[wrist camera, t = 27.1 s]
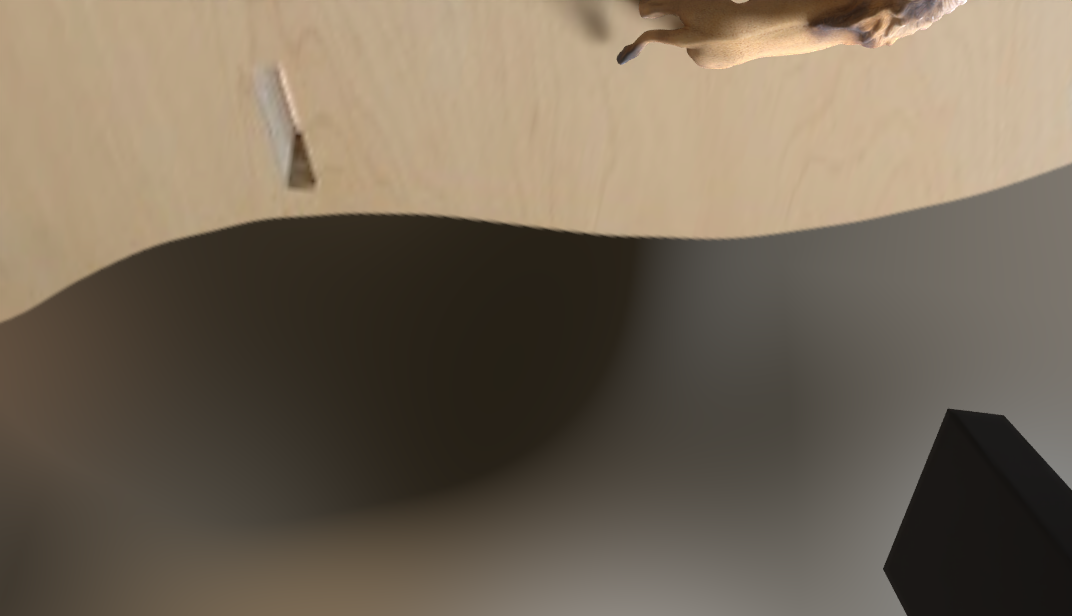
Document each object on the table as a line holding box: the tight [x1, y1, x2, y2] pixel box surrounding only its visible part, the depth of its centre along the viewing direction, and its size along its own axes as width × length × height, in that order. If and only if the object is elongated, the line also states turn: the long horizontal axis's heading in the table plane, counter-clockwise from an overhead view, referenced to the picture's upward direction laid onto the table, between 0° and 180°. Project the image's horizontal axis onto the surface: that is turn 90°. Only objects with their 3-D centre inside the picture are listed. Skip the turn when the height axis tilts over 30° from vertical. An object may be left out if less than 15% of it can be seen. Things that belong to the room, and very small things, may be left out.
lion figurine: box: [617, 0, 967, 69], centre depth 38 cm, size 15×5×9 cm, turn 112°
